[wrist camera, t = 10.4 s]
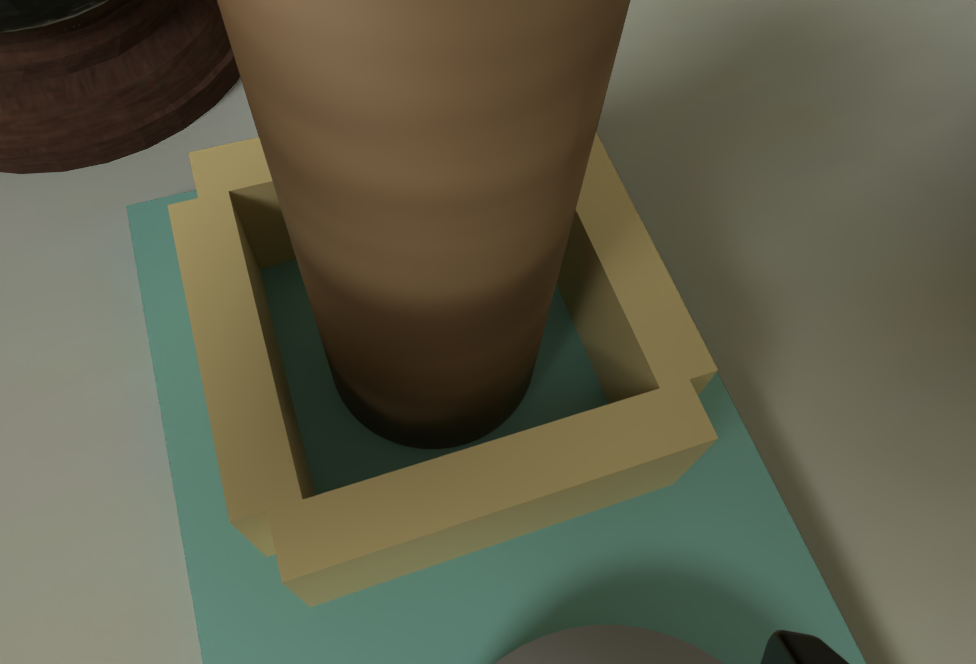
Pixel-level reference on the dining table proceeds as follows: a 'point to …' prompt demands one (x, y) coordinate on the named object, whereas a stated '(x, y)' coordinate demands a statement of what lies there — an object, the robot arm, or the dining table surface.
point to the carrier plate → (460, 466)
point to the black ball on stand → (105, 77)
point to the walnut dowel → (427, 186)
